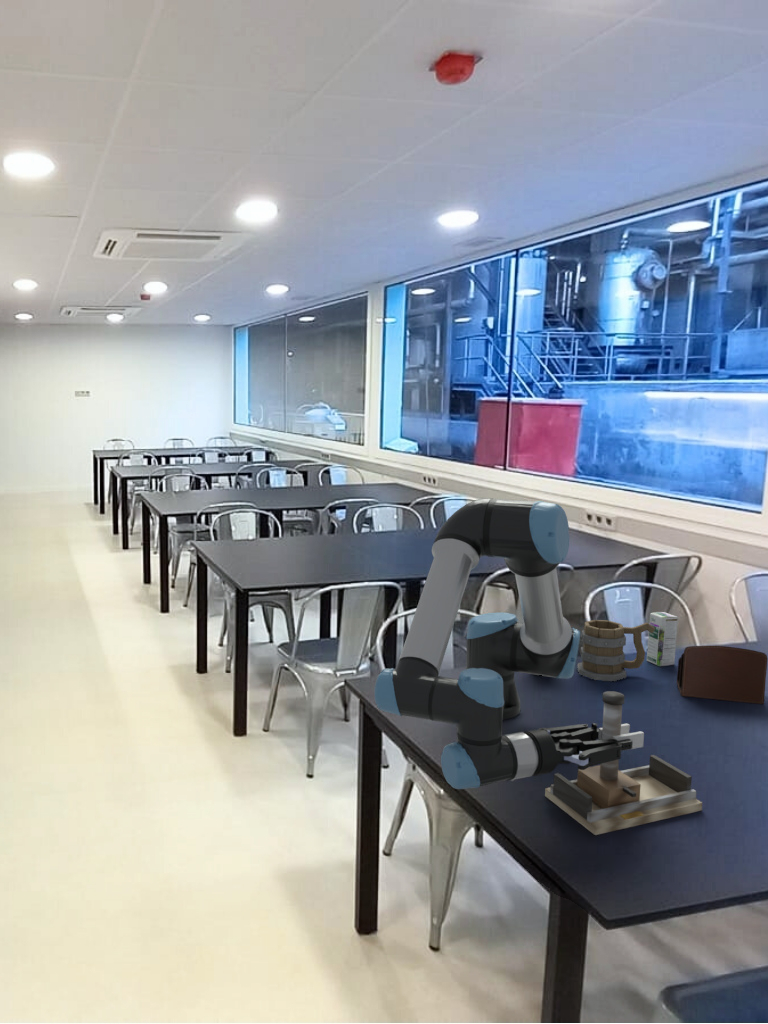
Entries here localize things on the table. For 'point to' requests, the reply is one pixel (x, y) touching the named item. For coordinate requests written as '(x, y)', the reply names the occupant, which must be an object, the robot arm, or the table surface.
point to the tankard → (609, 649)
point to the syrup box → (662, 639)
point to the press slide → (609, 764)
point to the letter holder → (722, 674)
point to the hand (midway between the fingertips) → (634, 735)
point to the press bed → (659, 799)
